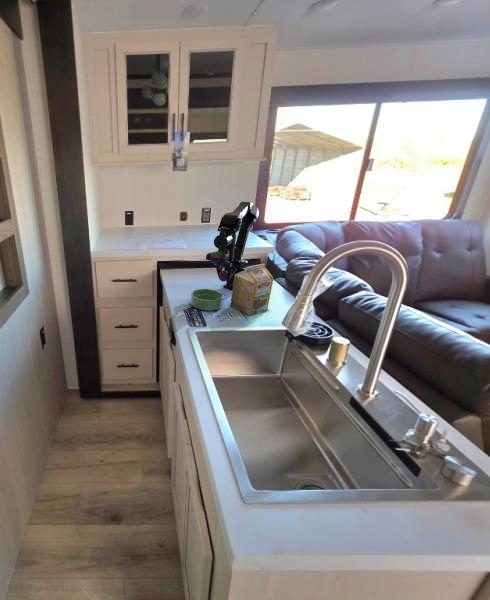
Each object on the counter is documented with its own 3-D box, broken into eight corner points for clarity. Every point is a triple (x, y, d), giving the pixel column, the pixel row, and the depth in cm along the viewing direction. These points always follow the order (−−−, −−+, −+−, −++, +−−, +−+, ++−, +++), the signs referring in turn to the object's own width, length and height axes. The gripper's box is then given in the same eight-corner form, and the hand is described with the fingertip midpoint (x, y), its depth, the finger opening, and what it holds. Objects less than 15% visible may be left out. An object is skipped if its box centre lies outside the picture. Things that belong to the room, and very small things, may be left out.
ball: (222, 278, 145) (223, 268, 143) (231, 281, 141) (233, 271, 139) (215, 280, 142) (216, 270, 140) (224, 283, 138) (225, 273, 136)
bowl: (205, 296, 145) (206, 286, 143) (228, 306, 135) (229, 295, 133) (184, 303, 138) (185, 293, 136) (207, 314, 128) (208, 303, 126)
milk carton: (249, 315, 127) (256, 271, 120) (230, 305, 136) (236, 263, 128) (267, 310, 132) (275, 267, 124) (247, 301, 140) (254, 260, 133)
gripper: (198, 242, 138) (195, 276, 144) (234, 251, 124) (229, 288, 130) (215, 239, 144) (212, 271, 150) (251, 247, 130) (245, 283, 136)
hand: (223, 278), depth 141 cm, fingers closed on ball, 5 cm apart
